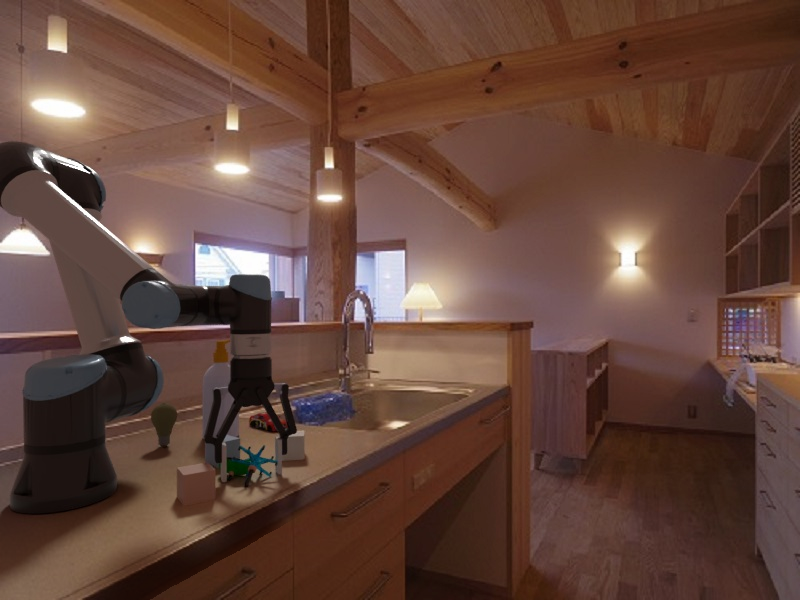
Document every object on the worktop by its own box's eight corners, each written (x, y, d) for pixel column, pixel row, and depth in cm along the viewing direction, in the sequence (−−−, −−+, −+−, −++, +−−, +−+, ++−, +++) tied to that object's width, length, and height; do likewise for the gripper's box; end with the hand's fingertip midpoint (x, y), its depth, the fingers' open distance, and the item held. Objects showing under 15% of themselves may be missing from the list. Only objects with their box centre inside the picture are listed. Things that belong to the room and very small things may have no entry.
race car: (291, 430, 135) (291, 415, 135) (273, 434, 131) (273, 418, 131) (264, 423, 144) (264, 408, 144) (246, 426, 140) (246, 411, 140)
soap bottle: (247, 433, 131) (247, 339, 132) (225, 442, 122) (225, 341, 123) (218, 431, 134) (218, 339, 134) (194, 440, 125) (194, 341, 125)
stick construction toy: (286, 463, 98) (265, 436, 94) (276, 494, 92) (253, 467, 89) (233, 475, 101) (211, 450, 98) (221, 507, 96) (196, 481, 92)
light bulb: (177, 448, 117) (176, 404, 118) (149, 451, 115) (149, 406, 115) (177, 442, 123) (177, 400, 123) (151, 445, 120) (151, 402, 121)
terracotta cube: (183, 506, 83) (183, 475, 83) (176, 497, 87) (176, 467, 87) (215, 499, 86) (215, 469, 86) (207, 491, 90) (207, 462, 90)
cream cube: (279, 461, 107) (279, 437, 107) (281, 454, 112) (281, 431, 112) (304, 459, 108) (304, 435, 108) (304, 453, 113) (304, 430, 113)
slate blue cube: (217, 468, 103) (217, 443, 103) (204, 463, 106) (204, 439, 106) (240, 462, 106) (240, 438, 106) (227, 458, 110) (226, 434, 110)
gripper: (188, 361, 89) (189, 491, 89) (313, 355, 98) (314, 473, 98) (187, 357, 96) (187, 478, 96) (303, 352, 105) (304, 462, 105)
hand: (251, 475), depth 97 cm, fingers open, 9 cm apart
